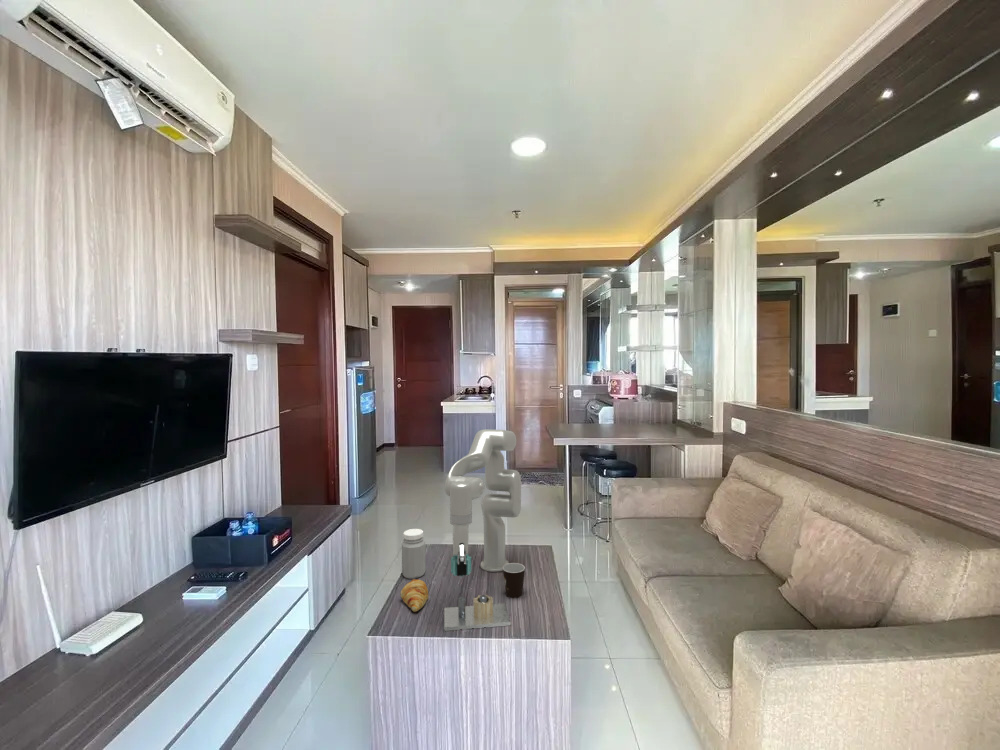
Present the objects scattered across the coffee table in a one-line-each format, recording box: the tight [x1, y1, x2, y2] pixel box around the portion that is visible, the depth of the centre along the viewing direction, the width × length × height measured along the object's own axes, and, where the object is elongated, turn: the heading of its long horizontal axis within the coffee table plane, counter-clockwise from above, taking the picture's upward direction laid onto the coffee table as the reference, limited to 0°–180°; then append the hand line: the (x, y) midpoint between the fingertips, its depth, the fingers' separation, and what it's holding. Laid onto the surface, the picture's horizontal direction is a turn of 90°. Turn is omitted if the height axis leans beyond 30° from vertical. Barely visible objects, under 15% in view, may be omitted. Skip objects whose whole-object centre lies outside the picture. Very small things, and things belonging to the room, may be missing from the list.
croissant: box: [400, 578, 429, 613], centre depth 160 cm, size 21×10×8 cm, turn 14°
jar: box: [401, 528, 426, 580], centre depth 181 cm, size 10×10×18 cm
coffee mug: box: [502, 562, 526, 599], centre depth 165 cm, size 12×9×10 cm
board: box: [443, 594, 511, 632], centre depth 147 cm, size 12×22×7 cm, turn 97°
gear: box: [450, 553, 472, 578], centre depth 147 cm, size 7×7×5 cm
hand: (461, 569), depth 147 cm, fingers closed on gear, 6 cm apart
